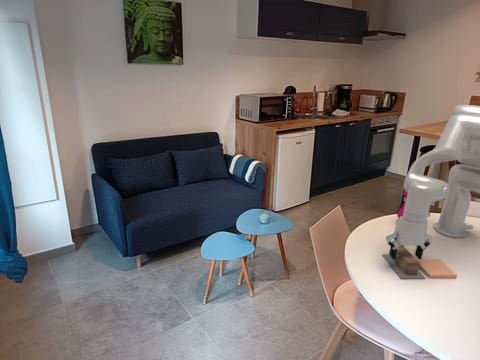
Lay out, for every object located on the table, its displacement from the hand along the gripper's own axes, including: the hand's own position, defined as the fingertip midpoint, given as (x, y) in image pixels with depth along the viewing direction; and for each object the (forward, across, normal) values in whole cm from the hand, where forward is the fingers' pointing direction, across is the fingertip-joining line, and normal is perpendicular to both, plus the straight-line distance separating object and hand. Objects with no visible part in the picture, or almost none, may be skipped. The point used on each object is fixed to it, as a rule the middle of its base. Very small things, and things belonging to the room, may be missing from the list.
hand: (405, 257), depth 123 cm
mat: (+4, 0, 0) cm, 4 cm away
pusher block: (+4, 0, 0) cm, 4 cm away
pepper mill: (+5, -18, -34) cm, 39 cm away
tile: (+4, -11, -3) cm, 12 cm away
